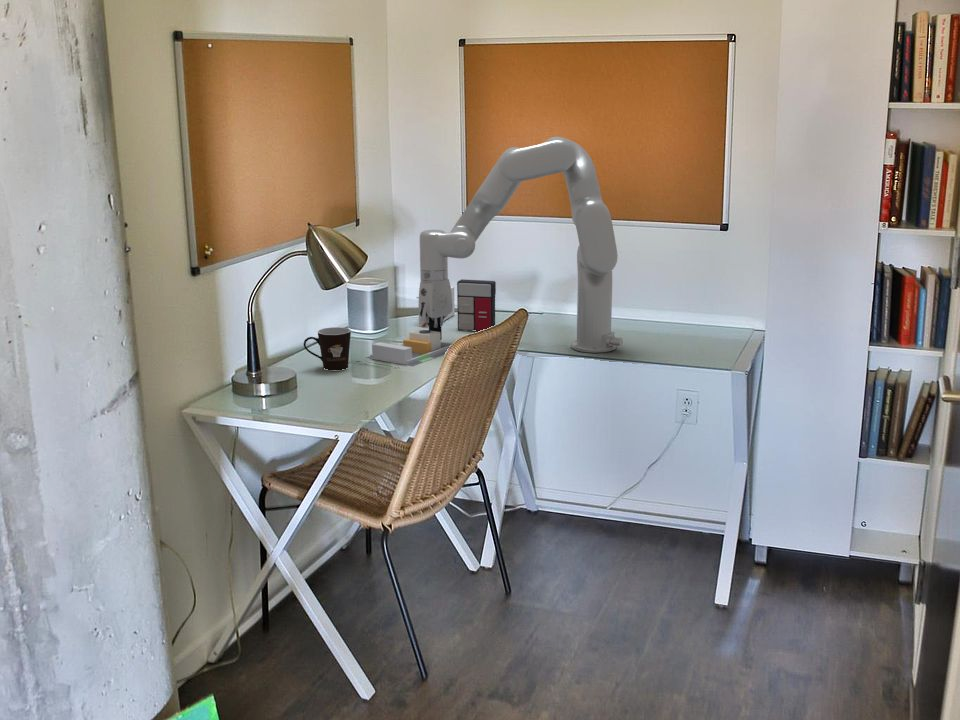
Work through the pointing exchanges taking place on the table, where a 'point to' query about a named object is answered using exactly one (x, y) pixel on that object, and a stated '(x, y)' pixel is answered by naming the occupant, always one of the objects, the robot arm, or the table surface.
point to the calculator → (476, 304)
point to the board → (403, 354)
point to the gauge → (427, 337)
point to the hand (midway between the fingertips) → (435, 340)
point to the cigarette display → (444, 318)
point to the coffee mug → (333, 347)
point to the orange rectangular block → (418, 346)
